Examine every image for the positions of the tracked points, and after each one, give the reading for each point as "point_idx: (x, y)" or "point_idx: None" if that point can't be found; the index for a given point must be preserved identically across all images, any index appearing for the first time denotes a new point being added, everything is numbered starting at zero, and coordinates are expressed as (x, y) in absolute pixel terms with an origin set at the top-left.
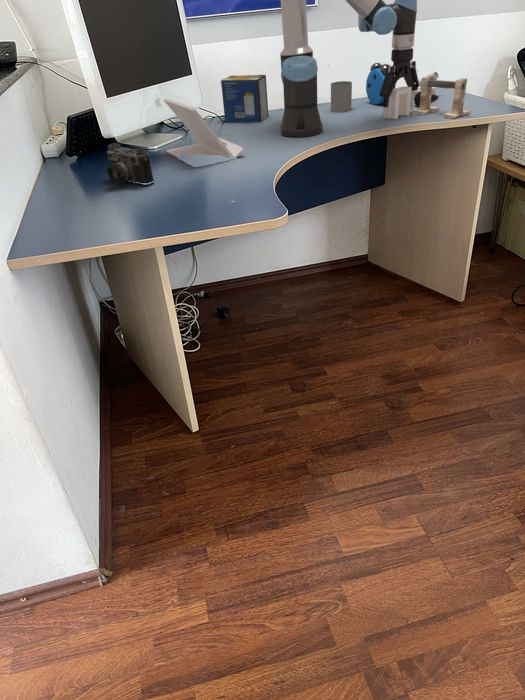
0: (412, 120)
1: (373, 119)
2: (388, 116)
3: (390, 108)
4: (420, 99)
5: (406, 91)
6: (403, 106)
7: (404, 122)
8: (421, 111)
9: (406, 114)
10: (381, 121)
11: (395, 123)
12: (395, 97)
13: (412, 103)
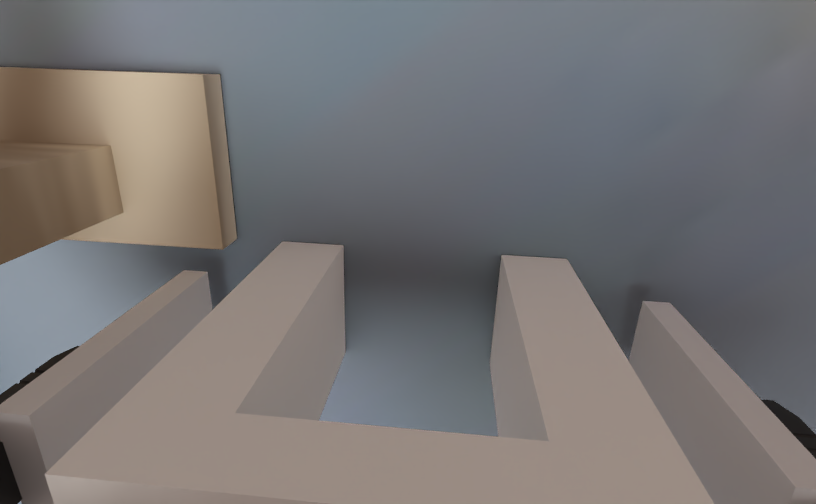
0: (532, 20)
1: None
2: (670, 309)
3: (690, 354)
4: (19, 250)
5: (289, 440)
6: (319, 338)
7: (683, 47)
8: (176, 131)
9: (338, 249)
10: (717, 329)
11: (777, 123)
12: (665, 438)
13: (158, 303)
